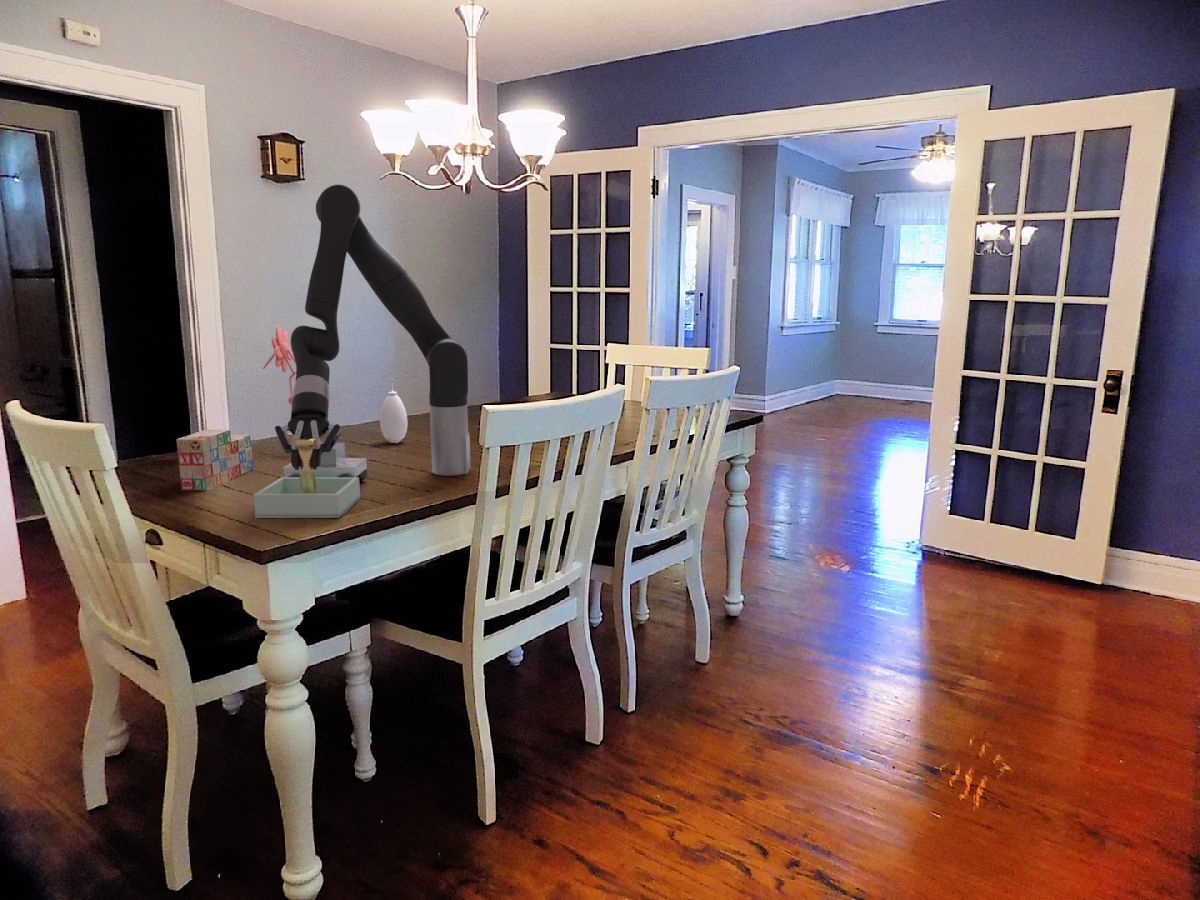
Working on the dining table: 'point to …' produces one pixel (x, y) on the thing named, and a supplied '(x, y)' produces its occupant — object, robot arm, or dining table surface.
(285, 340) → the figurine
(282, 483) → the tray
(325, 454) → the trolley
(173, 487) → the dining table surface
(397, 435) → the sauce bottle
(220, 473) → the stack of blocks
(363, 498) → the dining table surface
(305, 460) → the pin
